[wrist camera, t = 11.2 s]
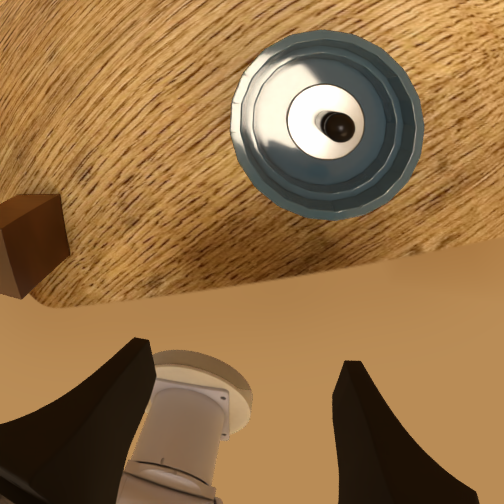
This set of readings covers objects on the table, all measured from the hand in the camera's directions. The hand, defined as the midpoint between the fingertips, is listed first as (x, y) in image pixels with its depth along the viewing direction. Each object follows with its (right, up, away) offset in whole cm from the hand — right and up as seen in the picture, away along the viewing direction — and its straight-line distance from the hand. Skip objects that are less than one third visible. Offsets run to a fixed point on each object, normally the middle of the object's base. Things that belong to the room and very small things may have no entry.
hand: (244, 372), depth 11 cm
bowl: (+4, +12, +5) cm, 14 cm away
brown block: (-16, +7, +10) cm, 20 cm away
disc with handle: (+4, +11, +5) cm, 13 cm away
